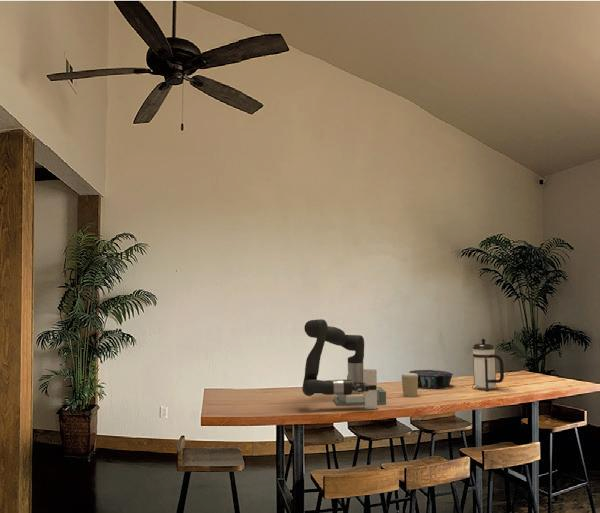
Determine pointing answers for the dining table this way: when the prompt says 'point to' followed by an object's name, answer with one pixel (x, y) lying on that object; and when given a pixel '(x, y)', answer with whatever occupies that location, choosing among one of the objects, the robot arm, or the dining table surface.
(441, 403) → the dining table surface
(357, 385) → the robot arm
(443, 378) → the decorative bowl
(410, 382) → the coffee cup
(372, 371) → the steel block
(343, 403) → the vise base
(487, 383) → the coffee press
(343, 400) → the sliding jaw
